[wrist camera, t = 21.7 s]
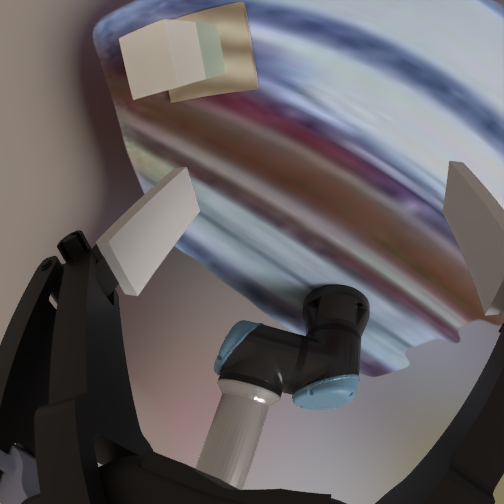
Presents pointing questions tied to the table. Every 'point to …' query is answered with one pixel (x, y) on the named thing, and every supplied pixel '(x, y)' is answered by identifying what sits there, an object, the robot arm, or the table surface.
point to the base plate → (224, 54)
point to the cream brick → (162, 57)
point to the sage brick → (210, 49)
